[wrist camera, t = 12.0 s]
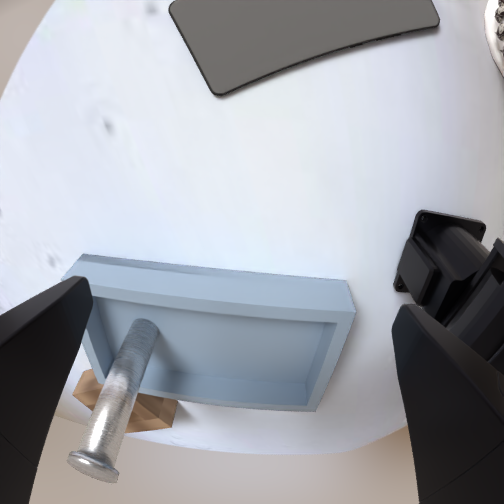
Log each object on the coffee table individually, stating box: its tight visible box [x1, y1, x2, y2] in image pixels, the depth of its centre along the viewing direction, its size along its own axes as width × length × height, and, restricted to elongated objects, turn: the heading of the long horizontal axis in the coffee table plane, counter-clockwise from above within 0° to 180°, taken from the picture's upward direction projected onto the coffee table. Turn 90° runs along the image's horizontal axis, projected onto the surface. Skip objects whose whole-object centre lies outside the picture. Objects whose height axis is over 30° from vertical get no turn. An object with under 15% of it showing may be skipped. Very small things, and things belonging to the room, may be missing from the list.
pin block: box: [72, 369, 178, 433], centre depth 29 cm, size 8×8×4 cm
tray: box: [61, 254, 356, 412], centre depth 24 cm, size 20×12×4 cm, turn 85°
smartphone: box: [168, 0, 440, 96], centre depth 13 cm, size 7×1×15 cm
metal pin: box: [67, 318, 159, 483], centre depth 19 cm, size 3×3×13 cm
